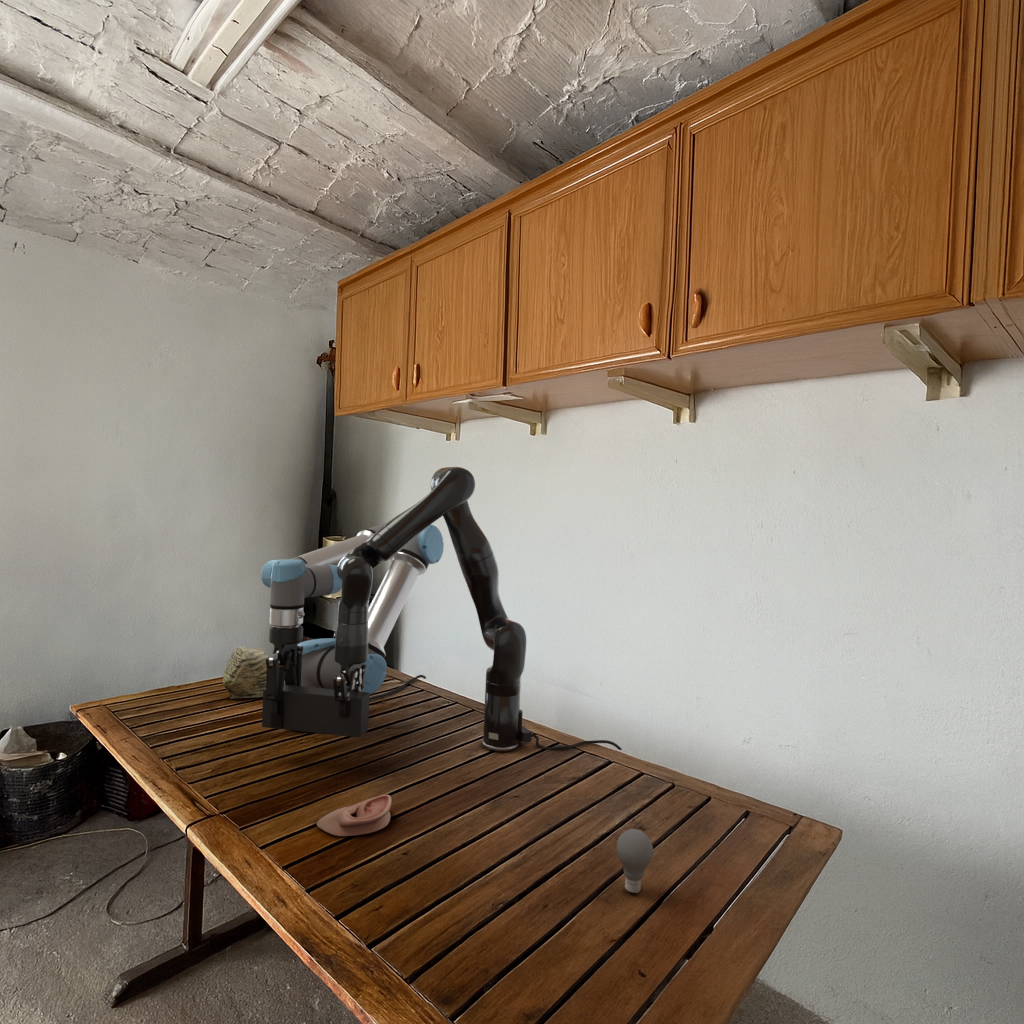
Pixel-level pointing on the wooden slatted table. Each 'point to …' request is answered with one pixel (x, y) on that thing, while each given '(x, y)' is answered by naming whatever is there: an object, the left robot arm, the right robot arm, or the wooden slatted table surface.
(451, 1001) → the wooden slatted table surface
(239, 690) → the fossil
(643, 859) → the light bulb
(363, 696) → the bar
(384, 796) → the anatomical model
